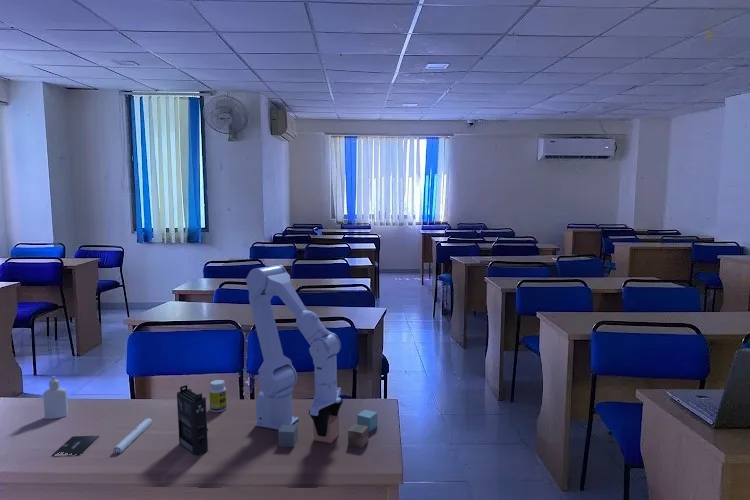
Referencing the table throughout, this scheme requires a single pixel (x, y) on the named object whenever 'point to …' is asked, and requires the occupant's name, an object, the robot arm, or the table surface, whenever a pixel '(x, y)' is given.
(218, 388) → the supplement bottle
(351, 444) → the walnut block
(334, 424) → the terracotta block
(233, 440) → the table surface
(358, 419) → the dull teal block
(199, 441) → the geiger counter
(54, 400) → the eye dropper bottle
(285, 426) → the charcoal block
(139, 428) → the marker
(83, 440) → the solid state drive
